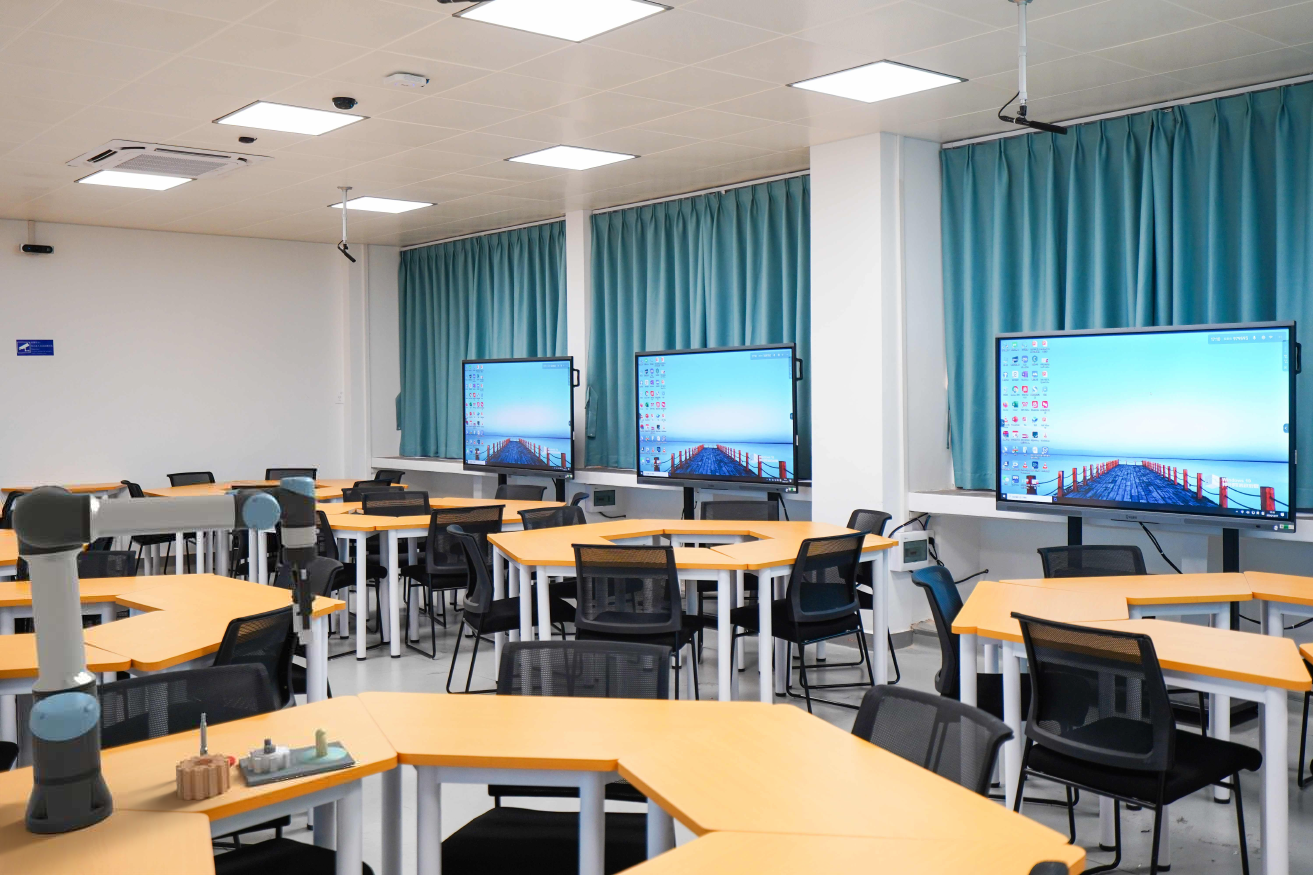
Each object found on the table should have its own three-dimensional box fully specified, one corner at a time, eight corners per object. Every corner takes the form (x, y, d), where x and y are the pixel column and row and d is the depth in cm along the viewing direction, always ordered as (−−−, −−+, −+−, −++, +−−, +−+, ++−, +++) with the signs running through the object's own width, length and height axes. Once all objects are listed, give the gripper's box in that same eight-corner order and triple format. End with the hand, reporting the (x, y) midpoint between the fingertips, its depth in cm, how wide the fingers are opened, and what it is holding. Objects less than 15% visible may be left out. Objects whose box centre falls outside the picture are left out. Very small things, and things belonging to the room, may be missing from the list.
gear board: (249, 786, 220) (247, 752, 219) (238, 763, 234) (237, 731, 233) (355, 765, 230) (353, 733, 230) (339, 745, 244) (337, 714, 244)
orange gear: (179, 803, 211) (178, 774, 211) (175, 787, 220) (174, 759, 220) (233, 793, 216) (232, 764, 216) (227, 777, 225) (226, 750, 225)
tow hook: (208, 759, 238) (184, 772, 229) (207, 703, 238) (183, 713, 229) (242, 761, 237) (219, 774, 228) (242, 704, 237) (218, 715, 228)
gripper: (323, 550, 228) (326, 646, 229) (310, 537, 250) (313, 624, 251) (287, 553, 225) (290, 650, 225) (277, 539, 247) (280, 628, 248)
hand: (303, 637), depth 238 cm, fingers open, 13 cm apart
